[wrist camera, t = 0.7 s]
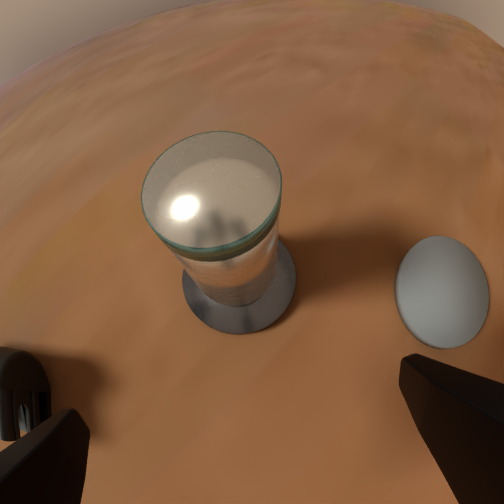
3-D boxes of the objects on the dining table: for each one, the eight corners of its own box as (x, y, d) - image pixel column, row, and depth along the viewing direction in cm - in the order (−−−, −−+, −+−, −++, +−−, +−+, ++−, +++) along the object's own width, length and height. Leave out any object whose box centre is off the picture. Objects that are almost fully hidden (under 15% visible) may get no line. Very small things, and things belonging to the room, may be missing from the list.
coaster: (467, 364, 18) (474, 363, 17) (378, 323, 20) (383, 320, 19) (489, 267, 21) (495, 263, 20) (410, 223, 23) (415, 218, 22)
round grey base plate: (262, 354, 20) (262, 352, 17) (165, 301, 22) (151, 290, 19) (312, 256, 22) (318, 239, 20) (219, 214, 24) (213, 193, 21)
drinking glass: (252, 321, 18) (236, 276, 10) (178, 282, 19) (115, 213, 11) (291, 248, 19) (304, 156, 11) (219, 215, 21) (191, 118, 12)
